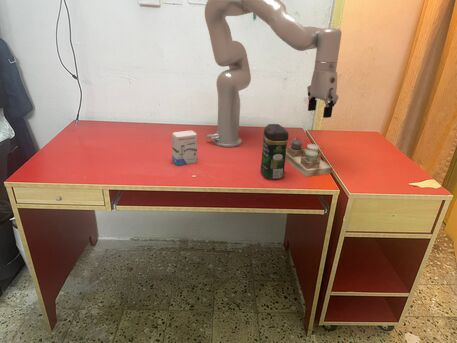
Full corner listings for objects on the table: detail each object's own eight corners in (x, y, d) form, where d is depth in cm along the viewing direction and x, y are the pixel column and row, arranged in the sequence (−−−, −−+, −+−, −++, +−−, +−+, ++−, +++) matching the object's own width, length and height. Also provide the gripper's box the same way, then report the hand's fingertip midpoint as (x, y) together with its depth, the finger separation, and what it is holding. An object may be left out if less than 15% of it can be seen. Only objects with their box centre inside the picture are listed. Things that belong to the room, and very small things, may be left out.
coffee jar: (257, 169, 129) (262, 122, 121) (278, 168, 131) (283, 122, 123) (264, 181, 121) (269, 131, 113) (285, 180, 122) (292, 131, 114)
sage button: (308, 165, 125) (309, 155, 123) (301, 160, 129) (303, 150, 127) (318, 164, 127) (320, 154, 125) (312, 159, 130) (313, 149, 129)
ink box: (176, 166, 129) (175, 136, 123) (172, 161, 132) (171, 132, 127) (197, 162, 132) (197, 134, 127) (192, 157, 136) (192, 129, 131)
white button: (309, 158, 131) (311, 148, 129) (303, 154, 135) (305, 144, 133) (319, 157, 133) (321, 147, 131) (313, 153, 136) (315, 143, 134)
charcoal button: (293, 154, 135) (294, 144, 133) (288, 149, 138) (289, 140, 136) (303, 153, 136) (304, 143, 134) (297, 148, 140) (299, 139, 138)
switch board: (305, 176, 125) (307, 164, 123) (282, 157, 141) (283, 145, 138) (331, 173, 129) (333, 161, 127) (306, 154, 144) (307, 143, 142)
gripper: (350, 69, 114) (342, 119, 121) (319, 62, 128) (314, 107, 136) (332, 70, 111) (324, 121, 119) (302, 63, 126) (297, 108, 133)
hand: (319, 113), depth 127 cm, fingers open, 9 cm apart
